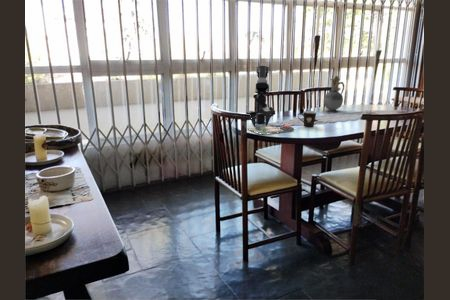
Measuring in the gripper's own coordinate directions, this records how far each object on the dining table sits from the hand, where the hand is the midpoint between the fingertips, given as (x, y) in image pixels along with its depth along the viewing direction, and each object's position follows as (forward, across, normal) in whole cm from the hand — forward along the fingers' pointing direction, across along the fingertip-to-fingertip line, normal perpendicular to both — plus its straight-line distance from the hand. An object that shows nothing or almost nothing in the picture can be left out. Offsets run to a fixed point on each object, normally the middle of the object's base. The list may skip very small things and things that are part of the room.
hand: (260, 126), depth 208 cm
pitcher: (+4, +97, +35) cm, 103 cm away
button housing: (+4, +18, -4) cm, 19 cm away
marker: (+2, 0, 0) cm, 3 cm away
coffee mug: (+4, +38, 0) cm, 38 cm away
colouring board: (+4, +4, 0) cm, 6 cm away
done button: (+3, +18, -5) cm, 19 cm away
